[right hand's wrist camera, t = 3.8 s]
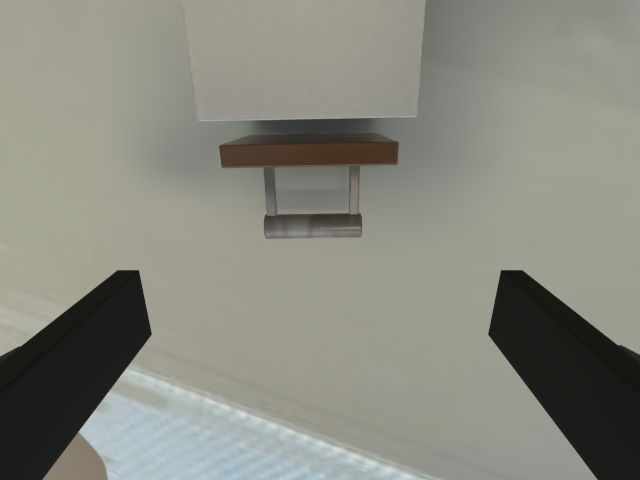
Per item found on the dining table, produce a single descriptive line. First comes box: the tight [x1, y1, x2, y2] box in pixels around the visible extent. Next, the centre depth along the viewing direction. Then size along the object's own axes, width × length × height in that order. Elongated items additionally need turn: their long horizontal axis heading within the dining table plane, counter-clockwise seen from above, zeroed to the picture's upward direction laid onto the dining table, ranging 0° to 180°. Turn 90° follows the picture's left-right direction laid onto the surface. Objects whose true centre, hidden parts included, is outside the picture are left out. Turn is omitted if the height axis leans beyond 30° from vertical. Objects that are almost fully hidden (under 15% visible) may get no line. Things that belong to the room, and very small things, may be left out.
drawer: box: [219, 133, 399, 239], centre depth 20 cm, size 21×9×8 cm, turn 1°
